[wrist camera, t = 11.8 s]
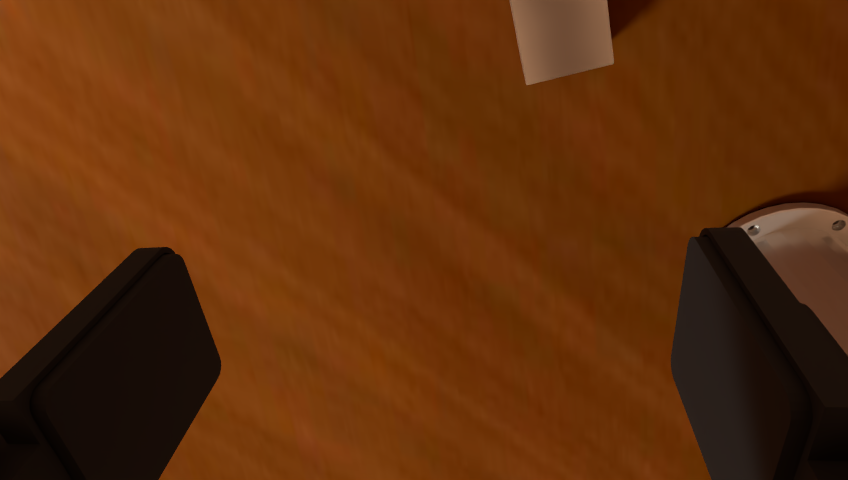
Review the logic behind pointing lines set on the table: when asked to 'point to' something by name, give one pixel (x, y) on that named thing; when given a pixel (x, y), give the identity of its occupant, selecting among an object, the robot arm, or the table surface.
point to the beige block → (561, 37)
